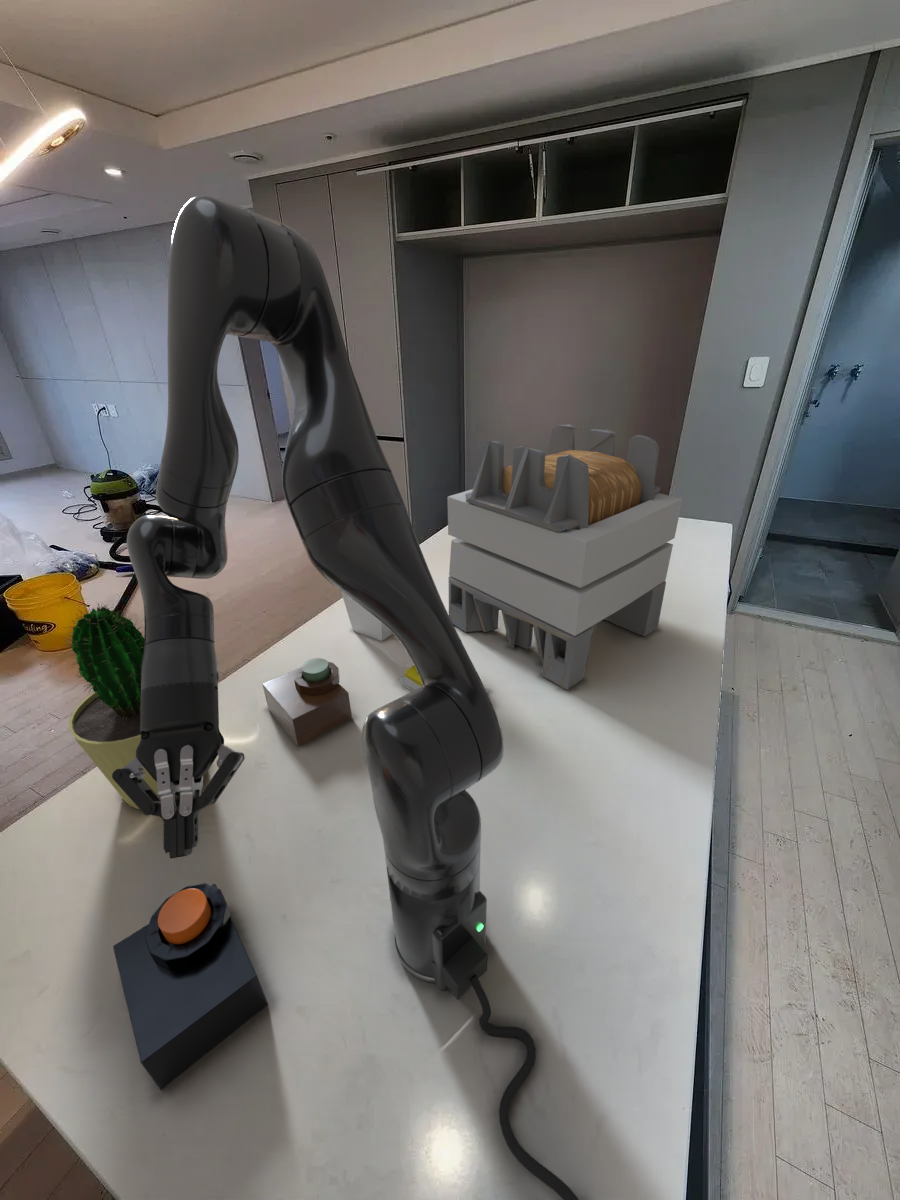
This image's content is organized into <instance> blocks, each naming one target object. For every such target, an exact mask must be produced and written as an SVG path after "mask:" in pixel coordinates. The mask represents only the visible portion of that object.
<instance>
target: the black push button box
mask: <svg viewBox="0 0 900 1200" xmlns="http://www.w3.org/2000/svg"><path fill="white" fill-rule="evenodd" d="M191 888H194V889H198V890H201V891H202V892H203V893H204V894H205V896H206V899H207V901H208V903H209V906H210V908H211V917H210V920H209V923H208V924H207V926H206V928H205V929H204V930H203V932H202V933H201V934H200V935H199V936H197V937H196V938H195V939H193V940H191V941H189V942H187V943H184V944H179V945H177V944H171V943H169V942H168V941H167V940H166V939H165V937H164V935H163V934H162V932H161V930H160V928H159V926H158V916H159V913H160V910H161V908H162V907H163V905H164V904H165V903H166V902H167V900H168V899H170V898H171V897H172V896H173V895H175V894H176V893H178V892H180V891H182V890H185V889H191ZM112 949H113V953H114V956H115V960H116V961H115V962H116V965H117V969H118V975H119V977H120V982H121V986H122V990H123V994H124V998H125V1003H126V1006H127V1011H128V1016H129V1019H130V1023H131V1029H132V1032H133V1036H134V1040H135V1044H136V1047H137V1048H136V1049H137V1052H138V1056H139V1057H138V1058H139V1061H140V1064H141V1065H142V1067H143V1068H144V1069H145V1071H146V1072H147V1074H148V1075H149V1076H150V1078H151V1079H152V1080H153V1082H154V1083H155V1085H156V1086H157V1087H158V1089H159V1090H160V1091H162V1090H163V1089H164V1088H166V1087H167V1086H168V1085H170V1083H172V1082H173V1081H175V1080H176V1079H178V1077H180V1076H181V1075H182V1074H183V1073H185V1072H186V1071H187V1070H188V1069H190V1068H191V1067H192V1066H193V1065H195V1064H196V1063H197V1062H198V1061H200V1060H201V1059H202V1058H203V1057H205V1056H206V1055H207V1054H209V1052H211V1051H212V1050H213V1049H215V1048H216V1047H217V1046H218V1045H219V1044H221V1043H222V1042H223V1041H225V1040H226V1039H227V1038H229V1037H230V1036H231V1035H232V1034H234V1033H235V1032H236V1031H238V1029H240V1028H241V1027H242V1026H244V1025H245V1024H246V1023H247V1022H248V1021H250V1020H251V1019H252V1018H253V1017H255V1016H256V1015H257V1014H259V1013H260V1012H261V1011H263V1010H264V1009H265V1008H266V1007H267V1006H268V1005H269V1003H268V1000H267V997H266V995H265V992H264V990H263V986H262V984H261V982H260V979H259V977H258V974H257V973H256V970H255V967H254V965H253V963H252V961H251V959H250V957H249V954H248V952H247V950H246V948H245V946H244V943H243V941H242V939H241V937H240V934H239V932H238V930H237V928H236V926H235V924H234V922H233V919H232V917H231V910H230V907H229V906H228V902H227V901H226V898H225V896H224V894H223V892H222V889H220V888H219V887H218V886H217V884H216V883H215V882H214V883H212V884H209V883H205V882H204V883H199V884H194V885H187V886H185V887H183V888H182V889H180V890H178V891H176V892H175V893H173V894H172V895H170V896H168V897H167V898H165V900H164V901H163V902H162V903H161V905H159V907H158V908H157V909H156V910H155V912H154V913H153V914H152V915H151V917H150V920H149V923H148V924H146V925H144V926H143V927H141V928H140V929H138V930H136V931H135V932H133V933H132V934H130V935H129V936H127V937H125V938H123V939H122V940H120V941H119V942H117V943H116V944H114V945H113V946H112Z"/></svg>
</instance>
